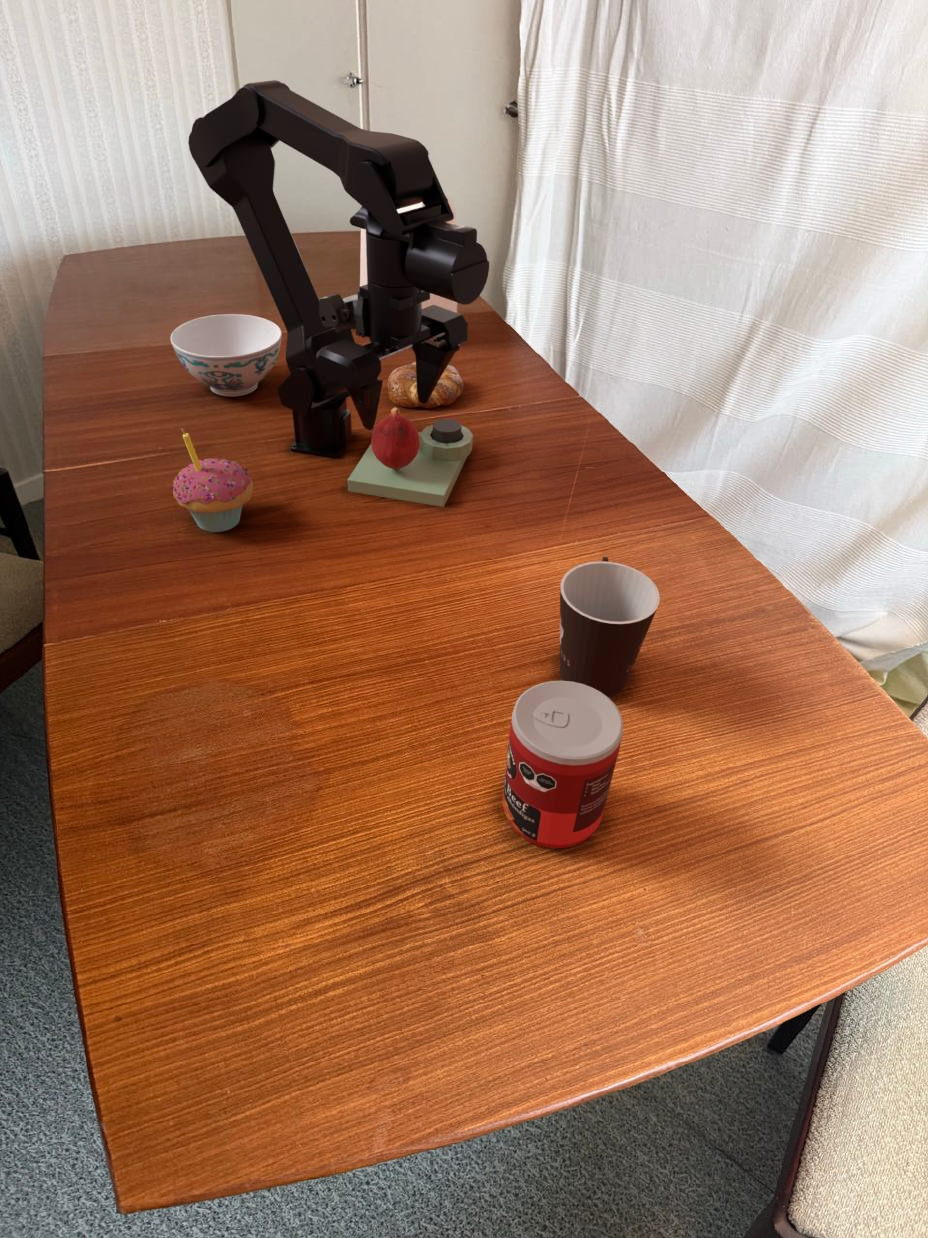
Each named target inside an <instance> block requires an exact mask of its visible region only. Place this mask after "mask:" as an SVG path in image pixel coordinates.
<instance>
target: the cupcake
mask: <svg viewBox="0 0 928 1238" xmlns="http://www.w3.org/2000/svg"><path fill="white" fill-rule="evenodd" d="M180 430H181V432H182V439H183V441H184V443H185V446H186V449H187V451H188V454H189V456H190V459H191V461H192V462H191V463H188V464H187V466H185V467H184V468H182V469H180V471H179V472H177V473H178V474H176V476H175V478H174V479H173V480H172V484H173V485H172V488H171V491H172V493H173V498H174V499H175V501H176V502H177V503H178V505H179V506H180V507H181V508H183V509H187V511H188V512H189V513H190V515H191V516H192V518H193V519H194V522H195V523H196V525H197V526H198V527H199V528H200V529H201V530H203V531H205V532H210V533H221V532H222V533H223V532H226V531H229V530H232V529H233V528H235V527H236V526H237V525H238V524H239V523H240V520H241V515H242V510H243V506H244V504H246V503H248V502H249V501H250V500H251V498H252V495H253V493H254V489H255V488H254V482H253V480H252V477H251V476H250V474H249V473H248V469H247V468H244V467H243V466H241V464H238V463H237V462H236V461H234V460H228V459H226V458H210V457H207V458H205V459H201V460H200V459H199V457H198V455H197V452H196V450H195V447H194V445H193V442H192V439H191V437H190V434H189V432H188V433H187V432H185V429H184V428H183V427H181V428H180Z"/></svg>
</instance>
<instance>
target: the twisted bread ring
mask: <svg viewBox="0 0 928 1238" xmlns="http://www.w3.org/2000/svg"><path fill="white" fill-rule="evenodd" d="M464 388H465V382H464V381H463V379H462V377H461V375H460V372H459V371H458V369H457V368H455V366H453V365H450V364H448V365H447V367H446V369H445V370H444V372H443V374H442V376H441V378H440V379H439V381H438V383H437V385H436V387H435V389H434V391H433V392H432V394H431V396H430V398H429V400H428V402H427V403H426V404H423V403H421V402H419V400H418V394H417V379H416V360H415V361H413V362H412V363H410V364H404V365H401V366H399V367H397V368H395V369H394V370H392V372H390V373H389V376H388V379H387V392H388V393H387V394H388V398H389V400H391V402H392V403H393V404H395V405H396V406H398V407H403V408H417V407H420V408H423V409H434V408H437V407H439V406H441V405H442V406H450V405H452V404H453V403H455V401H457V399H458V397H459V396H461V395H462V393H463V392H464Z"/></svg>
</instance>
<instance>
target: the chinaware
mask: <svg viewBox="0 0 928 1238" xmlns="http://www.w3.org/2000/svg"><path fill="white" fill-rule="evenodd" d="M282 337H283V335H282V330H281V328H280V327H279V326H278V324H276V323H275V322H273V321H271V320H269V319H267V318H263V317H260V316H256V315H250V314H240V313H239V314H238V313H225V314H222V313H221V314H214V315H213V314H212V315H207V316H202V317H197V318H194V319H190V320H188V321H186V322H184V323H182V324H180V325H179V326H177V327H176V328H175V329H174V330H173V331H172V332H171V334H170V343H171V345H172V348H173V350H174V353H175V355H176V357H177V358H178V361H180V363H181V364H182V366H183V367H184V369H185V370H186V371H187V372H188V373H189V374H190V375H191V376H192V377H193V378H195V379H196V380H197V381H199V382H201V383H202V384H204V385H206V386H208V387H209V388H210V390H211V392H213V393H214V394H216V395H218V396H222V397H241V396H245V395H248V394H251V393H253V392H254V391H255V390H256V389H258V386H259V382H261V381H263V380H264V379H265V378H266V377H267V376H268V375H269V373H271V371H272V370H273V368H274V366H275V364H276V363H277V360H278V357H279V354H280V351H281V345H282Z"/></svg>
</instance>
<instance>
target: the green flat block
mask: <svg viewBox="0 0 928 1238" xmlns="http://www.w3.org/2000/svg"><path fill="white" fill-rule="evenodd" d="M418 433H419V437H420V446H419V451H418V454H417V455H416V457H415V458H414V460H413V461H412V462H411V463H409V464H408V465H407V466H405V467H402V468H400V469H398V470H393V469H391V468H389V467H386V466H385V465H383V464H382V463H381V462H380V461H379V460H378V459H377V458H376V456H375V455H374V452H373V449H372V445H371V444H370V445H369V446H368V448H367V449H366V450H365V452H364V454H363V455H362V457H361V458H360V459H359V461H358V463H357V464H356V466H355V467H354V469H353V470H352V472H351V474H350V475H349V477H348V478H347V492H349V493H357V494H364V495H369V496H374V497H380V498H382V497H383V498H387V499H393V500H398V501H399V500H400V501H406V502H411V503H417V504H423V505H429V506H435V507H441V508H444V507H445V505H446V504H447V501H448V499H449V497H450V495H451V492H452V490H453V488H454V486H455V484H456V482H457V480H458V477H459V475H460V473H461V472H462V469H463V466H464V464H465V462H466V461H467V458H468V456H469V455H471V452H472V450H473V446H474V445H473V443H474V435H473V433H472V432H471V430H470V429H469V428H467V427H465V426H463V425H461V439H460V441H458V442H456V443H447V444H446V443H440V442H437V441H435V440H433V424H431V425H428V426H426V427H424V428H423V429H422V431H418Z"/></svg>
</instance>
